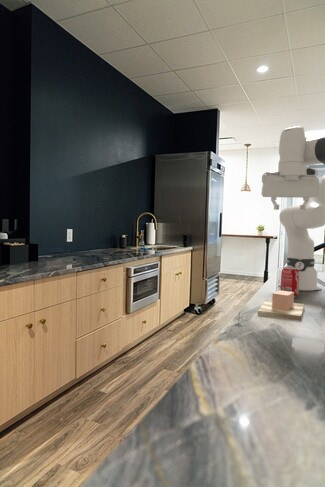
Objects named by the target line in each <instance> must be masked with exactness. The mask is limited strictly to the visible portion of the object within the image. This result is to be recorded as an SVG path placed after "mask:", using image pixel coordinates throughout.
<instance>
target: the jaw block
mask: <svg viewBox="0 0 325 487" xmlns="http://www.w3.org/2000/svg"><path fill="white" fill-rule="evenodd" d="M271 296H272V300H271V301H272V308H274V309H280V310H286V311H288V310H289V309H291V308H292V307H294V303H295V302H294V301H295V298H294V292H289V291H281V289H279V290H277V291H274V292H272V295H271Z"/></svg>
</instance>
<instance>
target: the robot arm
mask: <svg viewBox="0 0 325 487" xmlns="http://www.w3.org/2000/svg"><path fill="white" fill-rule="evenodd" d="M278 143H279V145H278V147H279V148H278V154H279V155H278V156H279V161H278V169H277V171H266V172H265V173H263V174H262V175H261V183H262V186H261V197H263V198H270V201H271V202H272V205H273V210H274V211H275V210H277V211H278V210H280V204H278V203H277V201H276V200H277V198H297V199H298V198H300V199H301V198H302V200H303V203H302V204H298V205H297V204H295V205H290V206H287V207H285V208H283V209H282V210H281V211H280V213H279V217H278V218H279V222H280V224H281V225H282V226H283V228H284V229H285V232H286V236H287V240H288V241H287V242H288V248H287V249H288V250H287V252H288V254H287V255H288V256H287V257H286V267H296V268H298V271H299V291H318V290H319V291H322V288H323V287H321V286H320V285H319V284H318V282H319V279H318V271H317V269H316V268H315V264H316V261H315V257H314V256H315V255H314V254H315V241H314V240H313V239H312V238H311V236H310V235H309V231H308V230H309V229H311V230H312V229H318V228H321V227H323V226H325V174H324V175H322V176H321V177H320V178H319V177H317V176H318V175H319V171H318V169H316V168H312V167H309V166H314V165H322V164H323V165H324V166H325V135H323V136H317V137H313V138H307V137H306V136H305V128H304V126H301V125H298V126H293V127H288V128H285V129H284V130H282V131H281V134H280V137H279V142H278ZM278 287H281V282H279V283H278Z"/></svg>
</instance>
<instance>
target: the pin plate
mask: <svg viewBox="0 0 325 487" xmlns="http://www.w3.org/2000/svg"><path fill="white" fill-rule="evenodd" d="M304 310H305V304H304V303H295V302H294V307H292V308H291V309H289V310H288V311H286V310H280V309H274V308H272V300H271V299H270V300H269V299H265V301H264V302H263V303H262V305H261V306H260V307H259V309H258V310H257V316H261V317H262V316H263V317H270V318H276V319H283V320H285V319H286V320H293V321H300V322H301V321H302V319H303V318H302V317H303V315H304Z"/></svg>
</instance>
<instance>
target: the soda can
mask: <svg viewBox="0 0 325 487" xmlns="http://www.w3.org/2000/svg"><path fill="white" fill-rule="evenodd" d="M280 283H281V286H280V290H281V291H289V292H294V299H295V298H297V297H298V296H299V292H300V290H299V271H298V268H296V267H287V266H283V268H282V270H281V272H280Z"/></svg>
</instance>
